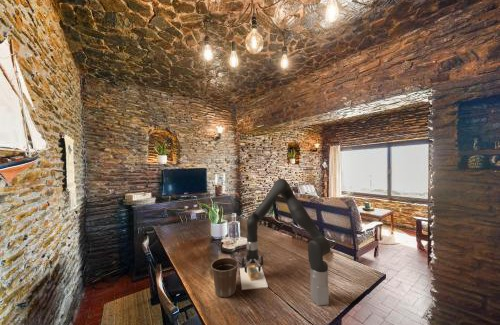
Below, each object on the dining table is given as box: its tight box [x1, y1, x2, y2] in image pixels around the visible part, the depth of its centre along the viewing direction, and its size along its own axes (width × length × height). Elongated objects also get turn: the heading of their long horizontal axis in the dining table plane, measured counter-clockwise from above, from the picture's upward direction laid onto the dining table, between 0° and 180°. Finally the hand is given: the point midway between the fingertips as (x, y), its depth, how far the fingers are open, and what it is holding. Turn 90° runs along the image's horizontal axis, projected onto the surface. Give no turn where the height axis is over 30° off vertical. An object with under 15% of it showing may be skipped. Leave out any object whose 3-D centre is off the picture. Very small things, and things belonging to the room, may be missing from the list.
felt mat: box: [239, 266, 269, 291], centre depth 130 cm, size 24×16×1 cm, turn 6°
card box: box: [247, 264, 258, 281], centre depth 130 cm, size 5×9×5 cm, turn 13°
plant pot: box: [210, 257, 239, 298], centre depth 116 cm, size 16×16×16 cm
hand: (252, 272), depth 130 cm, fingers open, 8 cm apart
